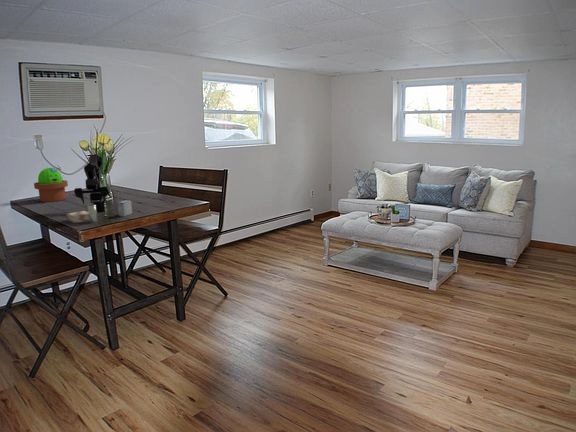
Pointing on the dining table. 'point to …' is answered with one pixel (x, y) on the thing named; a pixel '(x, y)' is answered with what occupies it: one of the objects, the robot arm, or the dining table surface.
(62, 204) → the dining table surface
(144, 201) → the dining table surface
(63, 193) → the potted cactus
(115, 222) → the dining table surface
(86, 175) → the robot arm
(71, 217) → the beige shallow bowl
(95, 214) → the tea tin
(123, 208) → the medicine box
